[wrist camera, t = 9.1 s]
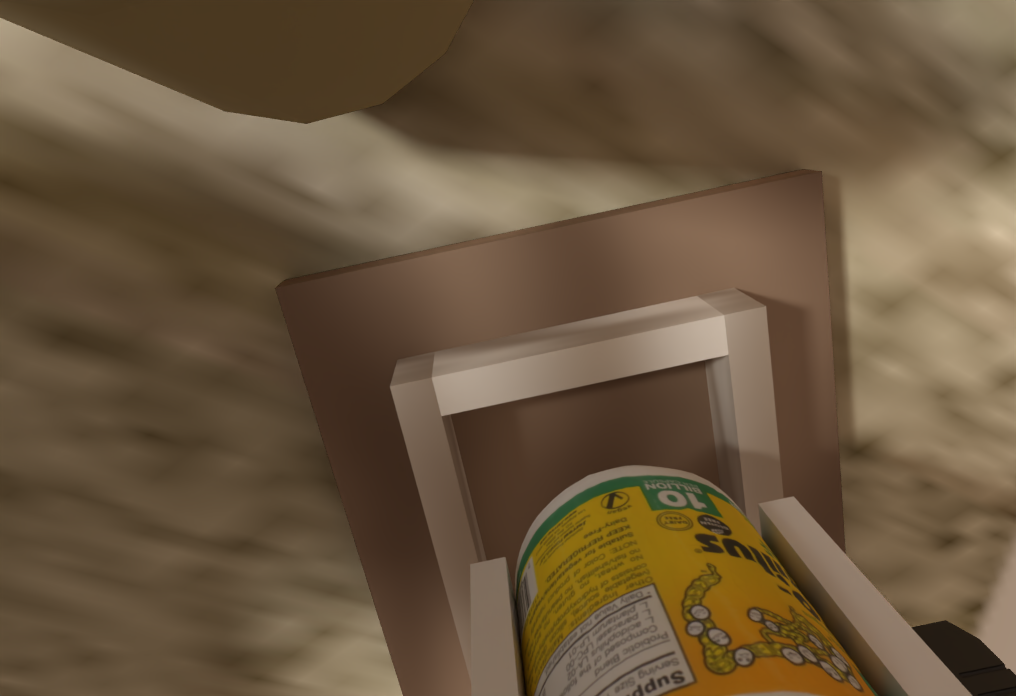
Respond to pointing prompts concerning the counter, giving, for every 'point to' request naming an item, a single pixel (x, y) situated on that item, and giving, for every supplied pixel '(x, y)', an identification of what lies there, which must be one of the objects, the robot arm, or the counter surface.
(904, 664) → the robot arm
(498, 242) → the collar holder
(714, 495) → the supplement bottle
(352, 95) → the squeeze bottle
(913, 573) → the counter surface
